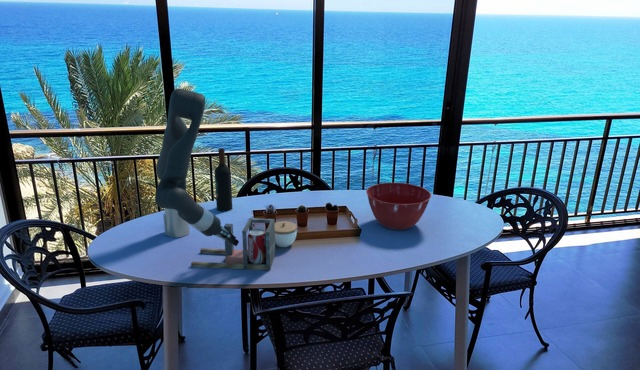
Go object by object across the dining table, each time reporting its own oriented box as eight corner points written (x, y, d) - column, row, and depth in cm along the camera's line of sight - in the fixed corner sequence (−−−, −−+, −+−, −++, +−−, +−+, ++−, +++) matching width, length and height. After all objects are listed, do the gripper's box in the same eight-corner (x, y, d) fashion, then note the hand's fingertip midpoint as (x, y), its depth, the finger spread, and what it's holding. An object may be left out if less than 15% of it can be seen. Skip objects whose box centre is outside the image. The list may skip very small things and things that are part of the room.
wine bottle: (224, 212, 213) (221, 151, 204) (213, 209, 217) (209, 149, 207) (235, 207, 219) (232, 148, 210) (224, 204, 223) (221, 146, 214)
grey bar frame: (191, 266, 163) (188, 229, 158) (201, 251, 174) (198, 216, 170) (270, 270, 162) (269, 232, 157) (275, 254, 173) (274, 219, 168)
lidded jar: (272, 237, 187) (272, 217, 184) (297, 238, 187) (297, 217, 184) (268, 249, 177) (268, 227, 174) (295, 250, 177) (295, 228, 174)
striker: (224, 263, 165) (222, 228, 161) (228, 255, 171) (226, 221, 166) (246, 264, 165) (245, 229, 160) (250, 256, 170) (248, 222, 166)
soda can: (265, 266, 164) (264, 236, 161) (246, 265, 165) (245, 235, 161) (268, 257, 171) (267, 228, 167) (250, 256, 171) (249, 227, 168)
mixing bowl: (400, 243, 185) (403, 208, 180) (351, 222, 205) (353, 190, 200) (440, 225, 202) (444, 193, 197) (391, 208, 223) (393, 178, 218)
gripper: (222, 217, 151) (251, 238, 164) (198, 207, 160) (227, 228, 173) (210, 236, 149) (240, 256, 162) (186, 224, 158) (216, 244, 171)
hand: (233, 241), depth 167 cm, fingers closed on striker, 3 cm apart
